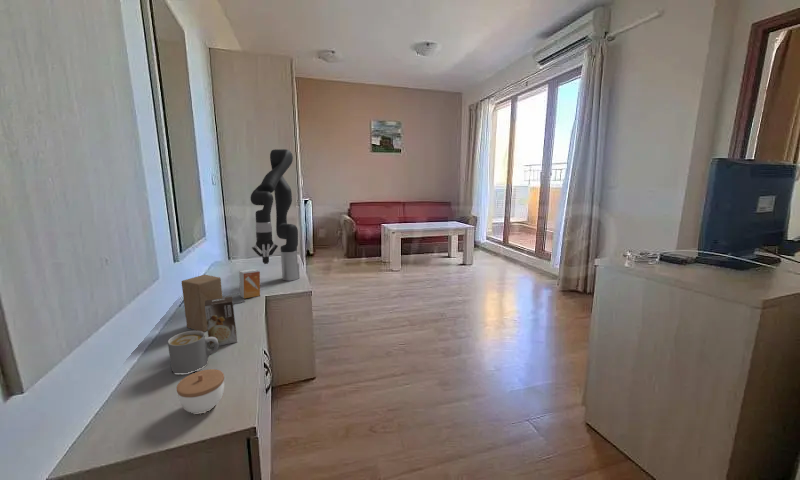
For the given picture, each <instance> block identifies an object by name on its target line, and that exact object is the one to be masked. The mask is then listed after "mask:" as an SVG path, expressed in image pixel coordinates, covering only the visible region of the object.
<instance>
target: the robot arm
mask: <svg viewBox="0 0 800 480" xmlns="http://www.w3.org/2000/svg"><path fill="white" fill-rule="evenodd" d="M293 156H294V155H293V153H292V151H291V150H289V149H275V148H274V149H271V151H270V154H269V159H270V166H271V170H270V171H268V172H267V173H266V174H265V176H264V177H263V179H262V181H261V183H260V184H259V185H258V186H257V187H256V188H254V190H252V193H251V194H250V201H251V204H253V205H254V206H263V208H262V209H259V210H256V211H255V237H256V240H255V241H256V242H255V245H253V246H252V247H251V250H253V252H255V254H257V255H258V256H259V257H261V258H262V263H263V264H264V265H268V264H269V262H270V256H272V255H273V254H274V252H275V251H276V250H277V249H278V247H279V246H278V245H277V244H276V243H274V241H273V228H272V227H273V225H272V220H271V219H272V218H271V217H272V216H271V214H272V213H271V212H272V209H273V203H274V202H275V212H276V213H275V214H276V215H275V217H276V220H275V221H276V223H275V224H276V225H275V227H276V229H275V232H276V235H277V238H279V239H281V240H285V244H283V245H281V246H280V260H281V261H280V262H281V263H280V264H281V277H282V280H283V281H286V282H287V281H295V280H298V279H301V278H300V277H301V276H300V263H299V262H298V260H299V259H298V245H299V231H298V227H297V226H296V225H295V224H292V223H288V222H287V221H288V220H287V216H288V213H289V209H290V208H291V205H292V202H293V194H292V188H291V186H290V184H289V183H288V182H287V181H286V179H285V178H284V175H285V173H286V171H287V170H288V169H289V168H290V167H291V165H292V163H293V159H294V157H293ZM273 192H274V196H273ZM274 199H275V201H274ZM258 249H259V250H260V251H259V250H258Z"/></svg>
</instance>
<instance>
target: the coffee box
mask: <svg viewBox="0 0 800 480" xmlns="http://www.w3.org/2000/svg"><path fill="white" fill-rule="evenodd" d="M205 313H206V321H207V329H208V330H207V335H208V336H207V337H215V338H217V340H218V344H219V346H218V347H220V346H224V345H230V344H235V343H238V333H237V327H236V319H235V318H236V317H235V310H234V304H233V298H232V297H226V298H219V299H212V300H205ZM208 343H209V344H208V345H209V348H210V347H211V348H214V347H213V346H214V343H213V342H212V341H209V342H208Z"/></svg>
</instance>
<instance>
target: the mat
mask: <svg viewBox="0 0 800 480" xmlns="http://www.w3.org/2000/svg"><path fill="white" fill-rule="evenodd" d="M226 297H232V298H233V305H237V304H242V303H245V302H246V300H245V299H244V298H243V297H241V296H240V292H239V293H234V294H233V293H232V294H227V295H222V298H226Z"/></svg>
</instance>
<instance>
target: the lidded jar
mask: <svg viewBox="0 0 800 480" xmlns="http://www.w3.org/2000/svg"><path fill="white" fill-rule="evenodd" d="M224 391H225V374H224V372H223V371H222V370H220V369H215V368H214V369H201V370H200V371H197V372H195V373H192V374H188V375H186V376H185V377H184V378H182V379H181V380H180V381H179V382H178V383H177V385H176V393H177V398H178V402H179V405H180V406H181V407H182V408H183V410H185V411H186V412H188V413H190V412H191V413H190V414H192V413H199V412H204V411H207V410H209V409H211V408H213V407H214V406H215V405H216V406H217V405H218V404H219V402H220V401H221V400H222V398H223V395H224Z"/></svg>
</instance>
